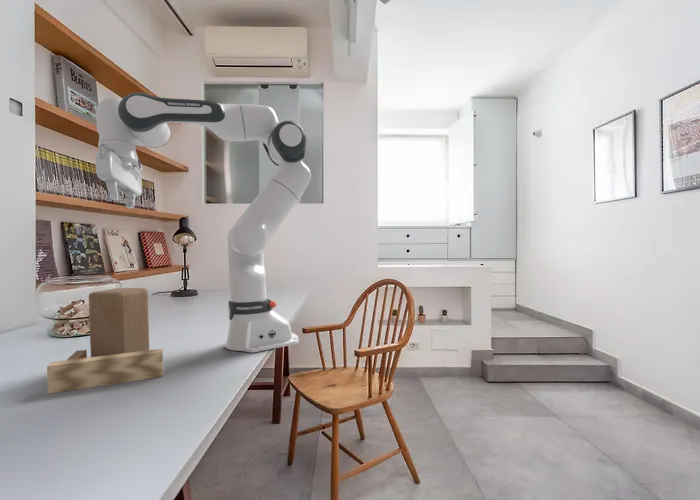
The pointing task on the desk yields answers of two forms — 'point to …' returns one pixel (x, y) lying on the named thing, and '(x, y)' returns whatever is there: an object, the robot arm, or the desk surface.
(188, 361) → the desk surface
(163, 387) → the desk surface
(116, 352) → the block
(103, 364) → the tan wooden slab
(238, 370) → the desk surface
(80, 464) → the desk surface
